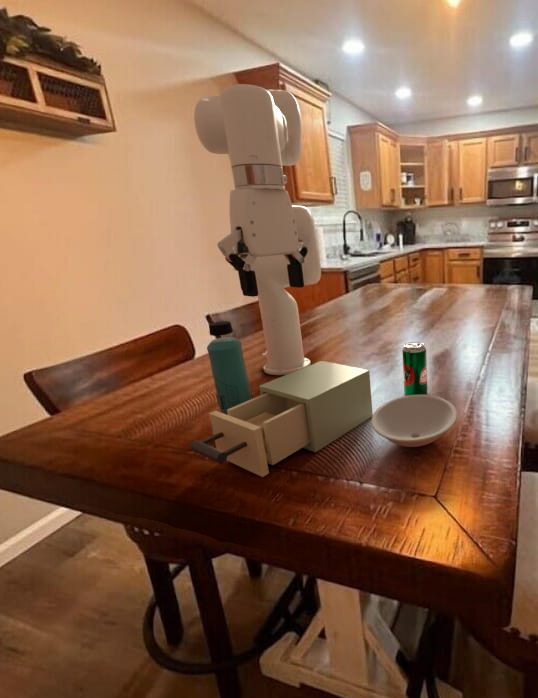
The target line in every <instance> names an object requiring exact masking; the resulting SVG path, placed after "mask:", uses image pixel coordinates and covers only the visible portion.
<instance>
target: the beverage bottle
mask: <svg viewBox="0 0 538 698" xmlns="http://www.w3.org/2000/svg"><path fill="white" fill-rule="evenodd" d="M208 329H209V332H208V333H209V335H210V336H214V337H218V338H215V339H212V340H211V341H210V342H209V343H208V345H207V347H206V350H207V353H208V358H209V363H210V368H211V373H212V378H213V383H214V384H213V385H214V388H215V391H216V392H215V393H216V394H215V395H216V399H217V403H218V409H219V412H221V413H224V414H226V415H228V413H227V409H230V408H232V407H234V406H237V405H239V404H241V403H244V402H246V401H249V400H251V399H253V394H252V390H251V385H250V381H249V376H248V371H247V369H246V363H245V358H244V352H243V348H242V342H241V341H240V340H239V339H238V338H236V337H234V336H225V335H230V334H232V333H233V332H234V329H233V327H232V323H231V322H230V321H228V320H220V321H214V322H211V323H209V324H208ZM219 336H222V337H219ZM223 336H224V337H223Z"/></svg>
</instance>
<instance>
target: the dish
mask: <svg viewBox="0 0 538 698" xmlns="http://www.w3.org/2000/svg"><path fill="white" fill-rule="evenodd" d="M372 414H373V416H372V417H371V425H372V426H371V427H372V428H373V430H374V431H375V433H377V434H378V435H379V436H381V437H382V438H385V439H386V440H388V441H390V442H391V443H393V444H395V445H398V446H400V447H405V448H417V447H423V446H426V445H429V444H431V443H433V442H435V441H437V440H438V439H439V438H441V437H442V436H443V435H444V434H445V433H446V432H448V431H449V430H450V429H451V428H453V426H454V425H455V424H456V421H457V418H458V411H457V409H456V407H455V405H454V404H452V402H451V401H449V400H447V399H445V398H443V397H440V396H436V395H431V394H427V395H409V396H405V395H404V396H400V397H397V398H394V399H391V400H389V401H387V402H384V403H383V404H382V405H380V406H379V407H378V408H377V409H376V410H375V411H374V413H372Z"/></svg>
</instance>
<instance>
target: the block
mask: <svg viewBox="0 0 538 698" xmlns="http://www.w3.org/2000/svg"><path fill="white" fill-rule="evenodd" d="M275 416H276V415H273V414H270V413H267V412H264V413H262V414H260V415H258V416H256V417H254V418H252V419H249V420H247V421H245V422H248V423H251V424H254V425H256V426H259V427H261V430H262V436H263V442H264V448H265V453H267V452H268V451H267V445H266V439H265V434H264V428H263V422H264V421H267V420H269V419H271V418H273V417H275Z"/></svg>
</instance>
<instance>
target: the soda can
mask: <svg viewBox="0 0 538 698" xmlns="http://www.w3.org/2000/svg"><path fill="white" fill-rule="evenodd" d="M401 351H402V370H403V393H404V394H403V395H404V396H409V395H428V363H427V361H428V360H427V348H426V346H425V343H423V342H419V341H411V342H406V343H404V344H403V348H402V350H401Z"/></svg>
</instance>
